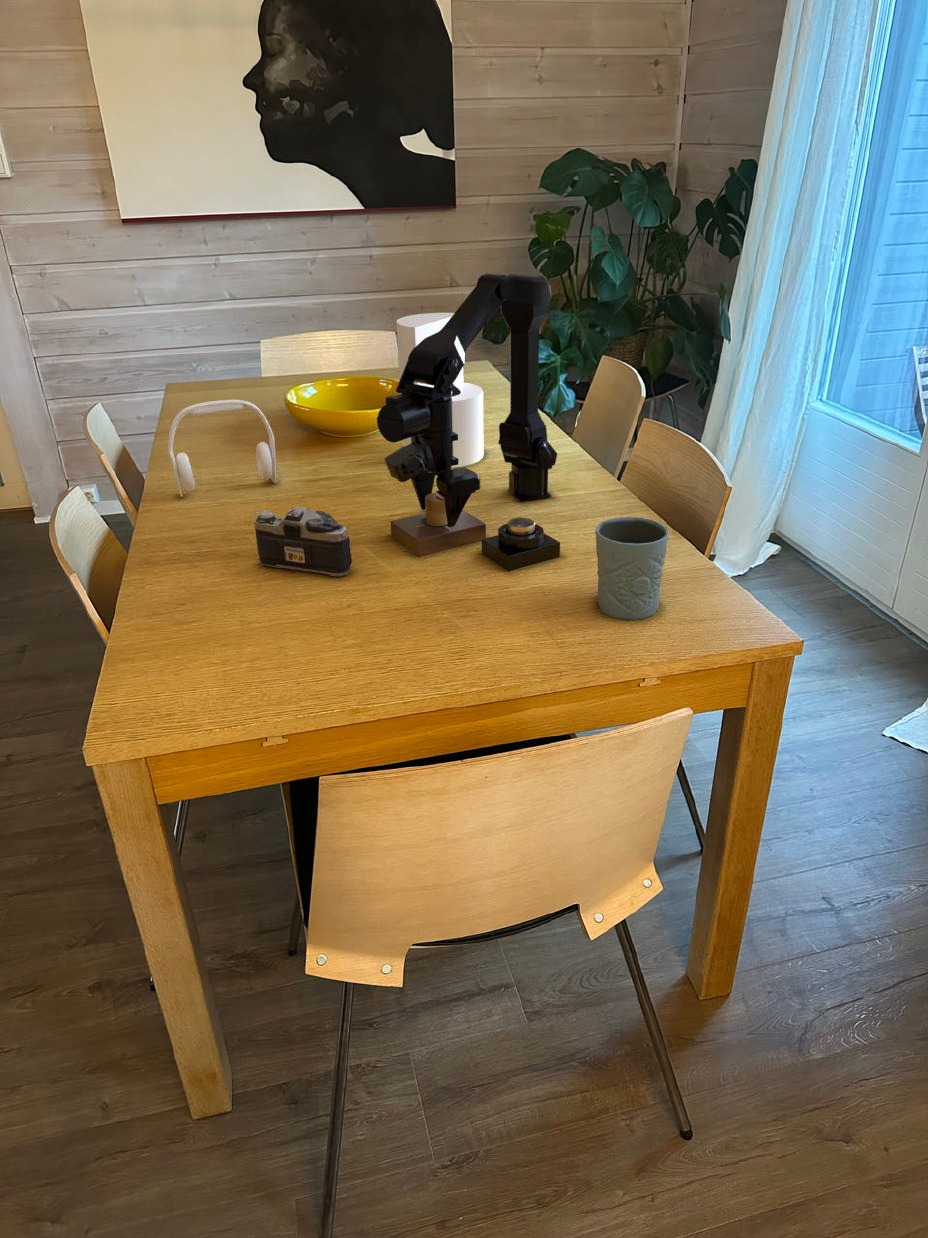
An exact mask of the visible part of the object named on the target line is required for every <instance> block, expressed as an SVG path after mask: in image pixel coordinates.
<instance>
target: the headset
mask: <svg viewBox="0 0 928 1238" xmlns="http://www.w3.org/2000/svg"><path fill="white" fill-rule="evenodd" d="M244 407H246V408H249V409H251V410H252V411H253V412H254V413H256V415H258V416H259V418H260V420H261V421H262V423H263V425H264V428H265V430H266V432H267V434H268V442H269V444H268V443H267V442H266V441H259V442H258V443H257V445H256V450H255V453H256V454H255V456H256V457H255V458H256V467H257V472H258V475H259V478H260V479H262V480H263V481H269V480H271V482H272V483H274V484H275V483H277V475H278V474H277V460H276V459H277V457H276V441H275V435H274V432H273V430H272V428H271V425H270V423H269V421H268V419H267V417H266V415H265V414H264V413H263V411H262V410H261V409H260V408H259V407H258V406H257V405H256V404H254V403H252V402H250V401H247V400H242V399H221V400H213V401H206V402H205V401H204V402H199V403H195V404H191V405H189V406H187V407H185V408H183V409H182V410H179V412H178V413H177V414H176V415H175V417H174V418H173V420H172V423H171V426H170V429H169V433H168V440H167V454H168V457H169V460H170V463H171V465H172V469H173V473H174V476H175V480H176V484H177V488H178V492H179V496H180V497H181V498H182V497H183V496H184V495H183V492H182V490H183V488H184V490H185V492H193V491H194V490H195V488H196V482H195V477H194V474H193V470H192V467H191V463H190V459H189V457H188V455H187V454H186V453H185V452H179V453H177V454H176V457H175V455H174V440H175V434H176V431H177V428H178V425H179V423H180V421H181V420H182V419H183V418H184V417H185V416H186V415H187V414H188V415H191V416H192V417H200V416H201V417H202V416H207V415H213V414H218V413H226V412H227V413H229V412H240V411H241V410H243V409H244Z"/></svg>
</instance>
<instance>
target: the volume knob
mask: <svg viewBox="0 0 928 1238" xmlns="http://www.w3.org/2000/svg"><path fill="white" fill-rule="evenodd" d="M425 509H426V510H425V513H426V523H427V524H428V525H431V526H444V525H447V524H448V523H447V518H446V510H445V503H444V498H443V497H441V496H440V495H439V494H438V493H437V492H432V494H428V495H426V497H425Z"/></svg>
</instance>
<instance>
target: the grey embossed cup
mask: <svg viewBox="0 0 928 1238" xmlns="http://www.w3.org/2000/svg"><path fill="white" fill-rule="evenodd" d="M669 535H670V531H669V529H668V528H667V526H666V525H664V524H663V523H661V522H659V521H656V520H653V519H651V518H646V517H637V516H620V517H614V518H608V519H605V520H603V521H601V522H600V523H598V524H597V525H596V526H595V550H596V558H597V577H598V580H597V604H598V607H599V609H600V611H601V613H604V614H606V615H608V617H611V618H612V617H613V618H615V619H620V620H628V621H629V620H630V621H633V620H634V621H635V620H644V619H647V618H650V617H652V616H653V615H655V614H656V612H657V610H658V609H659V608H658V607H659V604H660V596H661V583H662V578H663V568H664V565H665V562H666V554H667V547H668V543H669Z"/></svg>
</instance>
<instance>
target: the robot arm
mask: <svg viewBox="0 0 928 1238" xmlns="http://www.w3.org/2000/svg"><path fill="white" fill-rule="evenodd" d="M551 296H552V291H551V285H550V282H548V280H547V279H546V278H545V277H544V276H541V275H540V276H539V275H529V274H518V273H510V274H508V275H506V274H501V273H489V272H486V273H484V274H481V275H480V276H479V277H478V278H477V283H476V286H475V287H474V288H473V289H472V290H471V292H470V293H469V294H468V295H467V297H466V298H465V299H464V300H463V302H462V303H461V304H460V306H459V307H458V308H457V309H456V310H455V312H453V313H454V315H453V316H452V317H451V318H450V320H449V321H448V322H447V323H446V325H445V326H444V327H443V328H442V329H441V330H440V331H439V332H437V333H435V334H433V335H431V336H429V337H426V338H425V339H424V340H422V341H421V342H420V343H419V344H418V345H417V346H416V347H415V348H414V349H413V350H412V351H411V353H410V354H409V357H408V361H407V364H406V366H405V369H404V371H403V374H402V376H401V379H400V381H398V384H397V386H396V389H395V392H396V393H397V394H396V395H389V396H386V397H385V405H384V406H382V407H381V408H380V409H379V411H378V414H377V417H376V425H377V428H378V431H379V433H380V434H381V436H382V437H383V439H385V440H386V441H388V442H389V443H398V442H402V440H404V439H407V438H410V437H411V444H409V445H407V446H404V447H403V446H402V447H400V448H399V449H397V450H395V451H393V452H392V453H390V454H389V455H387V456H386V457H384V462H385V465H386V467H387V470H388V472H389V474H390V476H391V478H394V479H396V480H397V481H398V482H399V483H405V482H407V481H411V484H412V486H413V489H414V492H415V494H416V498H417V500H418V503H419V507H420V509H421V510H422V511H426V509H425V497H426V495H428V494H432V493H433V488H434V483H436V487H437V490H436V491H435V493H438V494H439V495H440V496H441V497H443V498H444V503H445V510H446V518H447V523H448V526H449V527H453V526H455V524H456V522H457V520H458V518H459V516H460V514H461V512H462V510H464V508H465V506H466V504H467V502H468V501H469V499H470V497H471V496H472V494H475V493H476V491H480V489H481V475H479V474H478V473H477V472H474V471H473V470H471V469H470V468H467V467H466V466H463V467H457V468H452V467H451V466H454V465H459V464H458V458H456V457H454V456H453V441H456V440H458V434H457V433H455V432H453V421H452V397H453V396H457V395H459V394H460V393H461V391H460V390H459V389H458V388H457V387H456V386H454V384H453V383H454V381H455V380H456V378H457V376H458V375H459V373H460V371H461V369H462V368H463V369H464V366H465V358H466V357H465V354H466V352H467V350H468V348H469V347H470V345H471V344H472V343H473V342H474V340H476V338H477V336H478V335H479V334H480V333H481V331H482V330H483V329H484V327H485V326H486V325H487V324H488V322H489V321H490V320H491V318H492V317H493V316H494V315H495V313H496V312H497V311H498V309H500V313H501V315H502V317H503V319H504V321H505V323H506V325H507V328H509V331H510V332H509V334H510V335H509V336H510V337H509V342H510V343H509V347H510V348H509V351H510V352H509V353H510V354H509V356H510V357H509V360H510V361H509V363H510V365H509V366H510V368H509V370H510V374H509V375H510V376H509V377H510V378H509V379H510V380H509V381H510V385H509V386H510V387H509V389H510V391H509V392H510V393H509V395H510V398H509V402H510V409H509V413H508V415H507V416H506V418H505V420H504V421H502V422H500V423H499V425H498V432H499V437H498V438H499V439H498V442H497V444H498V445H500V450H501V453H502V456H503V460H504V463H507V464H510V465H511V466H510V468H511V471H509V472H508V488H507V492H508V493H509V494H510V495H511V496H512V497H514V498H515V499H516V500H517V501H519V502H521V503H525V502H530V501H531V502H532V501H536V500H543V499H550V498H552V494H551V493H550V492H549V491H548V487H549V485H548V484H549V470H552V469H553V466H555V465H556V461H557V457H558V452H557V451H556V450H555V449H554V447H553V446H552V444H551V443H550V442H549V441H548V432H547V425H546V422H544V420H543V418H542V416H541V414H540V412H539V365H540V364H539V363H540V362H539V360H540V357H539V356H540V329H541V327H542V325H543V323H544V322H545V319H546V318H547V317H548V314H549V312H550V301H551ZM414 382H417V383H423V384H428V385H433V386H434V387H428V386H423V385H417V384H413V383H414ZM400 393H401V394H400Z"/></svg>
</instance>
